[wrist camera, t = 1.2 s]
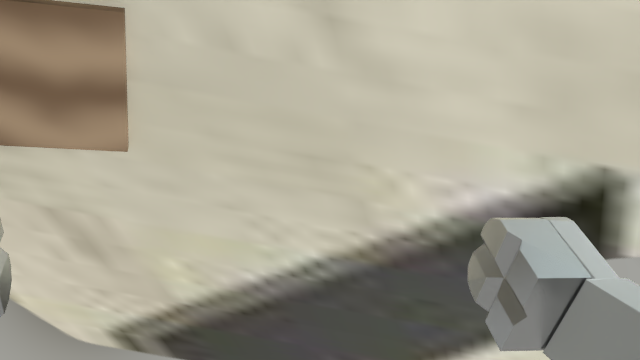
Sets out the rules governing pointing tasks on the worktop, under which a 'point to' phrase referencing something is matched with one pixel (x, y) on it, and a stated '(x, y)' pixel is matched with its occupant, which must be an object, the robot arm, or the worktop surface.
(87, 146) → the walnut pad
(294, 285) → the worktop surface
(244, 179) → the worktop surface
